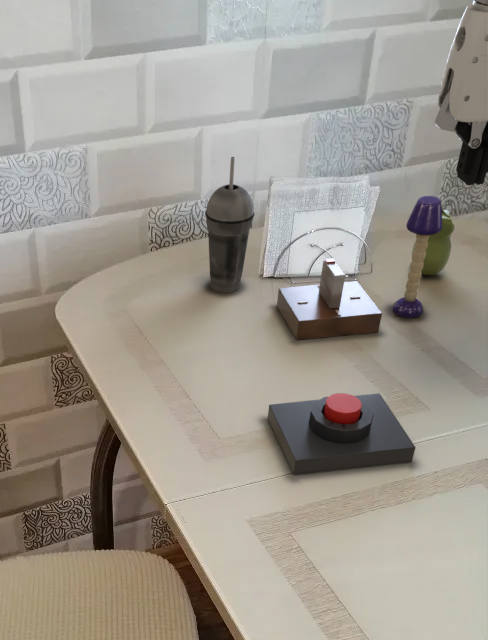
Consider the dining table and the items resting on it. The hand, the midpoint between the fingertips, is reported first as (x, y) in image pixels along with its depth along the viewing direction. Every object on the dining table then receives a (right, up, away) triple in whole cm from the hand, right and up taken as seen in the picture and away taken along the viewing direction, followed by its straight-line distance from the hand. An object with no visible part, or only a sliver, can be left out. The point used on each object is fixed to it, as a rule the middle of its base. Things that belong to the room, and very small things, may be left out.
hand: (469, 180), depth 89 cm
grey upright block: (-9, -7, +25) cm, 28 cm away
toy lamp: (+3, -8, +28) cm, 29 cm away
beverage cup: (-23, -2, +36) cm, 43 cm away
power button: (-13, -26, +3) cm, 29 cm away
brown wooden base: (-9, -10, +27) cm, 30 cm away
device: (-13, -29, +6) cm, 32 cm away
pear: (+9, 0, +37) cm, 38 cm away
